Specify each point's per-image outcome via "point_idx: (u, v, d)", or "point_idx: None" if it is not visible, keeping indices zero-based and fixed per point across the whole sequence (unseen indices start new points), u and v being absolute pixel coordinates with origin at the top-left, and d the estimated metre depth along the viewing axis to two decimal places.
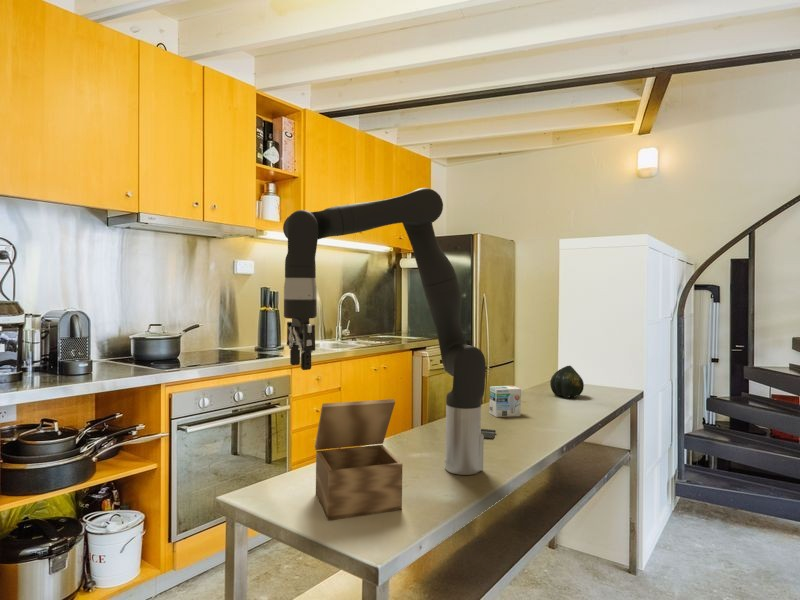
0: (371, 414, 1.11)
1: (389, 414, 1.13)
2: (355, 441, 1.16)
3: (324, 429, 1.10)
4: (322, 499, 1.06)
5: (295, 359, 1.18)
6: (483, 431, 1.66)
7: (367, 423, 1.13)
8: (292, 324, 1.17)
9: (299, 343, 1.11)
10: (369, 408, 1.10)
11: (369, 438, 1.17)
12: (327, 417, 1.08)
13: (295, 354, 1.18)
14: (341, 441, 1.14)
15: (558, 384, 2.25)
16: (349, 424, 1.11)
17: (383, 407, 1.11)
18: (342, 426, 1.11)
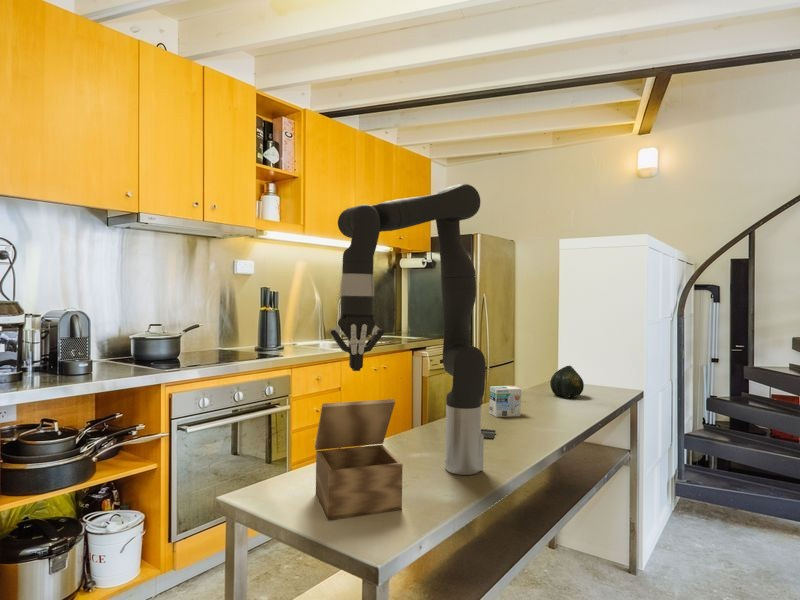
0: (371, 414, 1.11)
1: (389, 414, 1.13)
2: (355, 441, 1.16)
3: (324, 429, 1.10)
4: (322, 499, 1.06)
5: None
6: (483, 431, 1.66)
7: (367, 423, 1.13)
8: (345, 321, 1.10)
9: (363, 344, 1.11)
10: (369, 408, 1.10)
11: (369, 438, 1.17)
12: (327, 417, 1.08)
13: None
14: (341, 441, 1.14)
15: (558, 384, 2.25)
16: (349, 424, 1.11)
17: (383, 407, 1.11)
18: (342, 426, 1.11)
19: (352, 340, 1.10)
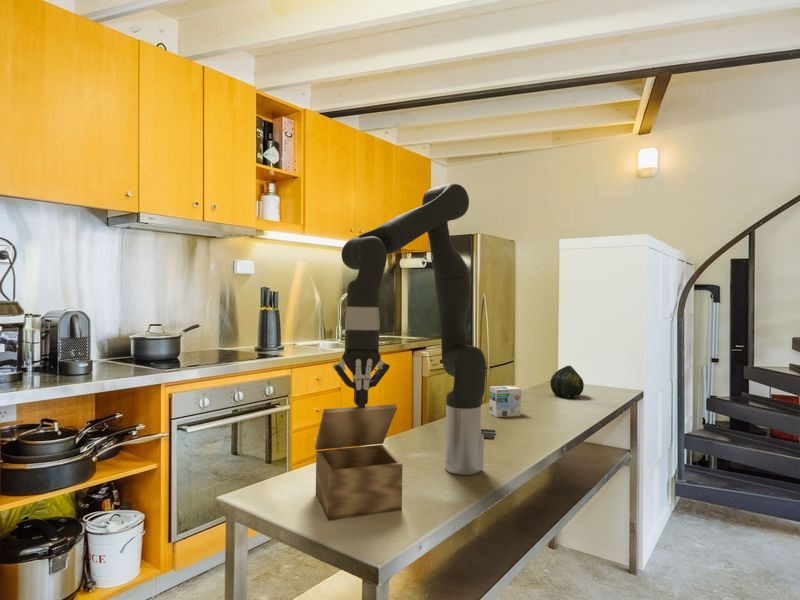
0: (372, 418, 1.11)
1: (390, 418, 1.12)
2: (355, 442, 1.16)
3: (324, 432, 1.10)
4: (322, 499, 1.06)
5: None
6: (483, 431, 1.66)
7: (368, 426, 1.12)
8: (350, 356, 1.06)
9: (368, 379, 1.07)
10: (370, 413, 1.09)
11: (369, 439, 1.16)
12: (328, 422, 1.07)
13: None
14: (341, 442, 1.14)
15: (558, 384, 2.25)
16: (350, 427, 1.11)
17: (385, 412, 1.10)
18: (343, 429, 1.11)
19: (357, 375, 1.06)
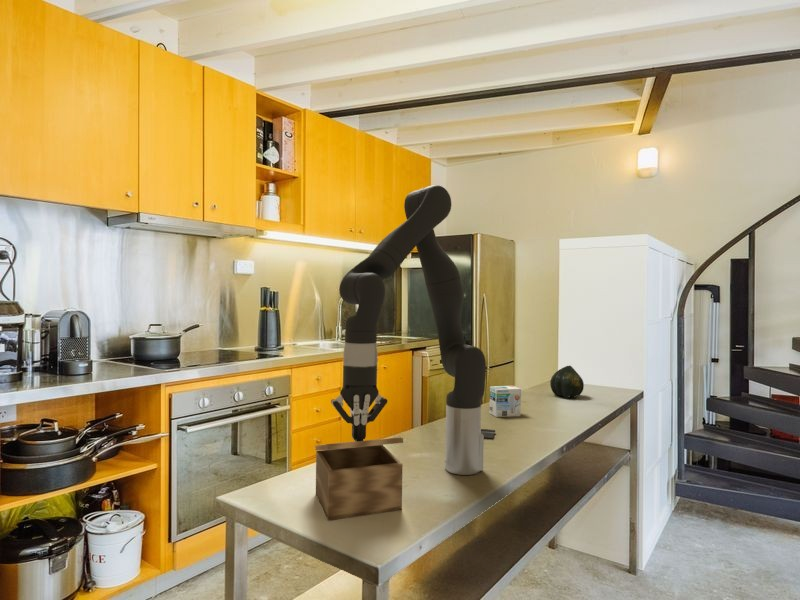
0: None
1: None
2: None
3: None
4: (322, 499, 1.06)
5: None
6: (483, 431, 1.66)
7: None
8: (348, 392, 1.07)
9: (366, 414, 1.08)
10: None
11: None
12: None
13: None
14: None
15: (558, 384, 2.25)
16: None
17: None
18: None
19: (355, 411, 1.07)
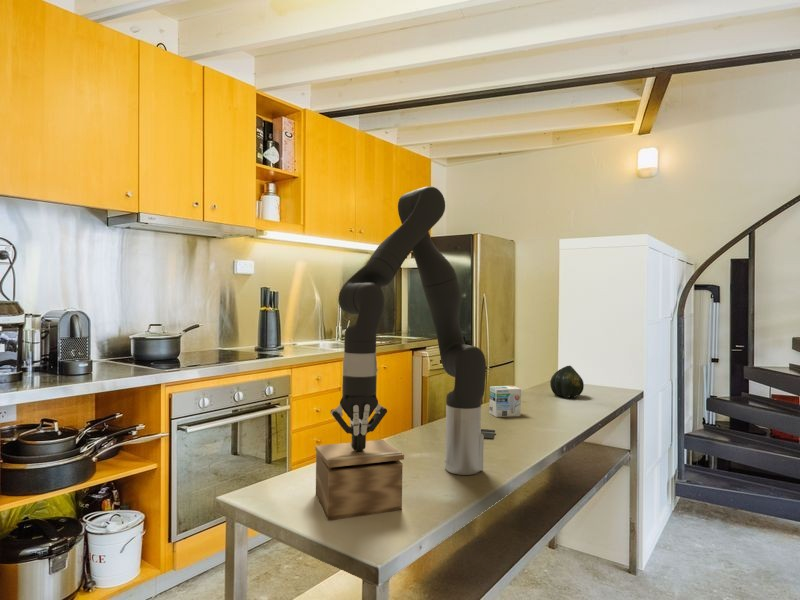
0: None
1: None
2: None
3: None
4: (322, 499, 1.06)
5: None
6: (482, 431, 1.66)
7: None
8: (347, 402, 1.07)
9: (365, 424, 1.08)
10: None
11: None
12: None
13: None
14: None
15: (558, 384, 2.25)
16: None
17: None
18: None
19: (354, 421, 1.07)
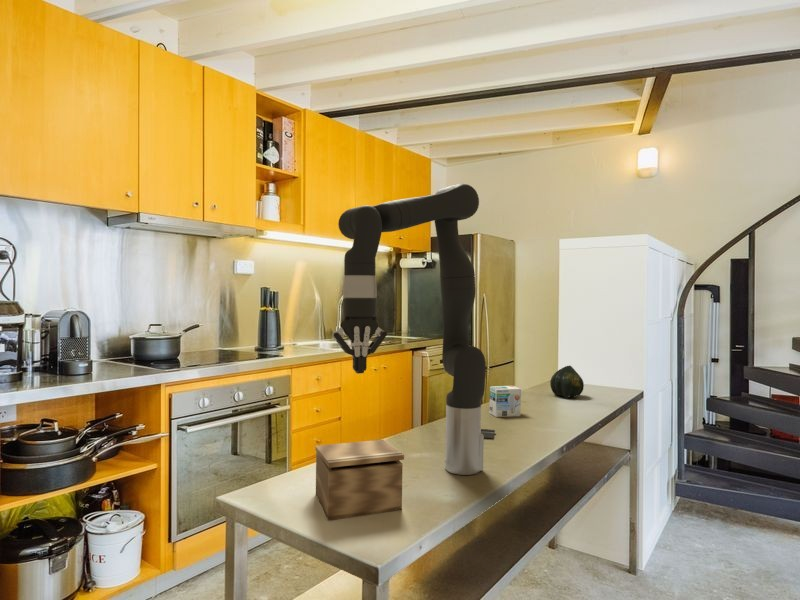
0: None
1: None
2: None
3: None
4: (322, 499, 1.06)
5: None
6: (482, 431, 1.66)
7: None
8: (348, 323, 1.09)
9: (366, 346, 1.10)
10: None
11: None
12: None
13: None
14: None
15: (558, 384, 2.25)
16: None
17: None
18: None
19: (355, 342, 1.09)
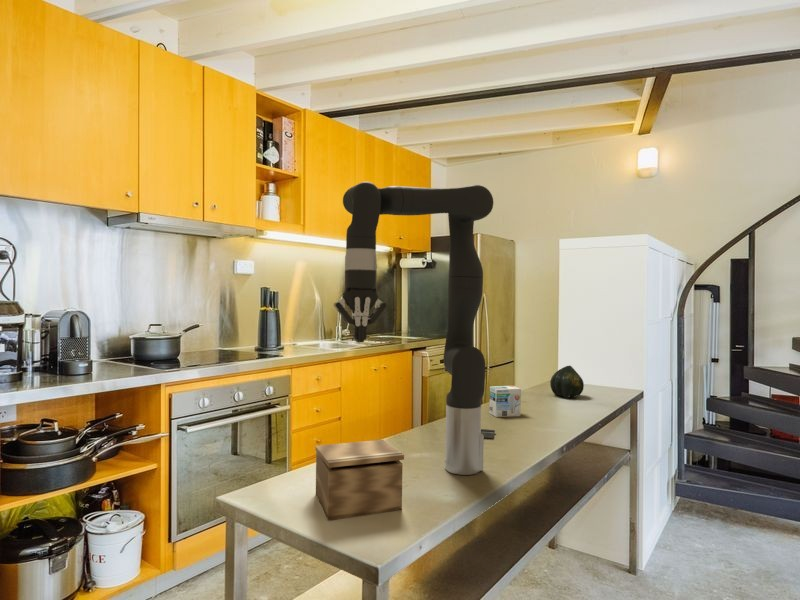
0: None
1: None
2: None
3: None
4: (322, 499, 1.06)
5: None
6: (482, 431, 1.66)
7: None
8: (349, 294, 1.15)
9: (366, 316, 1.16)
10: None
11: None
12: None
13: None
14: None
15: (558, 384, 2.25)
16: None
17: None
18: None
19: (356, 312, 1.15)
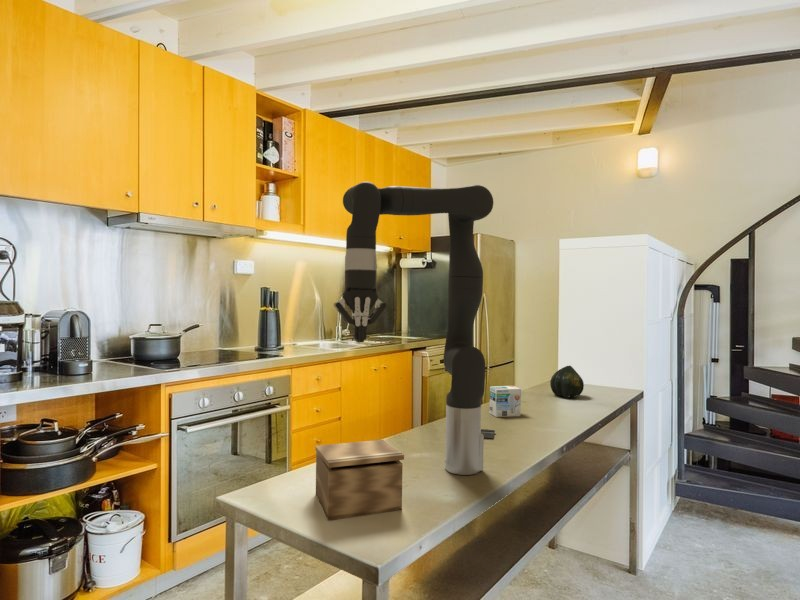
0: None
1: None
2: None
3: None
4: (322, 499, 1.06)
5: None
6: (482, 431, 1.66)
7: None
8: (349, 294, 1.15)
9: (366, 316, 1.16)
10: None
11: None
12: None
13: None
14: None
15: (558, 384, 2.25)
16: None
17: None
18: None
19: (356, 312, 1.15)
